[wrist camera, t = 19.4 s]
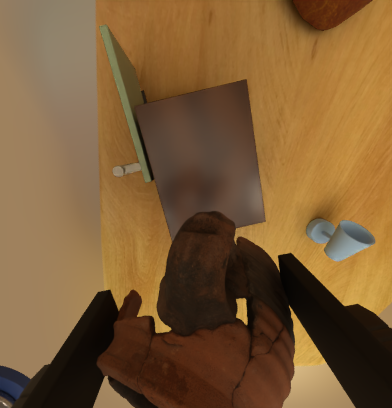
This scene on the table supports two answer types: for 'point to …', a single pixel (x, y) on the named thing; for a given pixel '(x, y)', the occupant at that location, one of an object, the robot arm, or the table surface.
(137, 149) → the sliding door
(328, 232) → the spotlight
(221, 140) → the cupboard
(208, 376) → the broken clay pot
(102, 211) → the table surface
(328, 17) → the bread
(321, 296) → the robot arm
